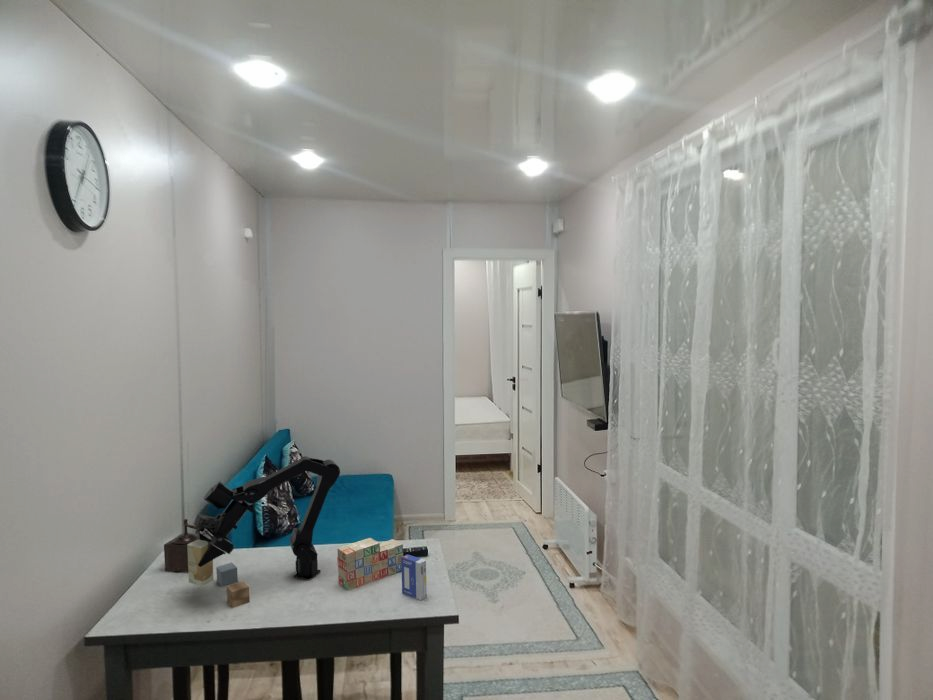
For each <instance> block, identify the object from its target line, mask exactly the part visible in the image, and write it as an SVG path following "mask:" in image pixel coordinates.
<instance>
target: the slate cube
mask: <svg viewBox="0 0 933 700" xmlns="http://www.w3.org/2000/svg"><path fill="white" fill-rule="evenodd" d="M238 580H239V579H238V566H236V565H235V564H234V563H233V562H232V561H231V562H229V563H225V564H222V565H219V566H216V582H217V584H219V586H220V587H221V588H223V587H227V586H228V585H231V584H235V583H238V582H239V581H238Z"/></svg>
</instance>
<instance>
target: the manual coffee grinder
mask: <svg viewBox="0 0 933 700" xmlns="http://www.w3.org/2000/svg"><path fill="white" fill-rule="evenodd" d="M182 526H184V527H183V529H184V532H183V533H181V534H179V535H177V536H175V537H174V538H172V539H171V540H169V541H168V542H166V543H164V544H163V550H164V551H163V553H164V554H163V555H164V568H165V569H164V572H171V573H172V572H173V573H188V549H187V544H189V543H191V542H194V541H196V540H198V533H197V531H199V530H198V529H197V528H196V525H194V524H193V525H192V524H189V523H188V519H187V518H185V519H183V525H182ZM188 528H189V529H194V530H196V531H195V533H192V532H189V531H188ZM199 532H200V531H199Z"/></svg>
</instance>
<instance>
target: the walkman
mask: <svg viewBox="0 0 933 700" xmlns="http://www.w3.org/2000/svg"><path fill="white" fill-rule="evenodd" d="M401 561H402V571H401V593H402V594H404V595H405V596H409V597H411V598H413V599H415V600H416V599H417V600H419V601H422V600H423V599H426V598H427V597H428V596H427V595H428V593H427V592H428V591H427V590H428V589H427V560H426V559H422V558H420V557H417V556H413V555H410V554H408V553H407V554H405V555H403V557H401Z"/></svg>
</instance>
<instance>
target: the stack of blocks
mask: <svg viewBox="0 0 933 700" xmlns="http://www.w3.org/2000/svg"><path fill="white" fill-rule="evenodd" d="M403 545H404V544H403V543H401V542H399V541H397V540H396V539H393V538H391V539H389V540H386V541H382V542H378V541H377V540H375V539H373V538H372V537H368V538H365V539H362V540H359V541H356V542H352V543H350V544H346V545H343V546H339V547H337V549H336V550H337V572H338V574H337V575H338V578H337V579H338V584H339V585H340V586H341V587H342V588H343V589H345V590H346V591H350V590H353V589H355V588H359V587H362V586H365V585H367V584H370V583H372V582H375V581H377V580H380V579H383V578H386V577H388V576H392V575H394V574H397V573H399V572H402V561H401V557H403V556H404V546H403Z"/></svg>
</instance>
